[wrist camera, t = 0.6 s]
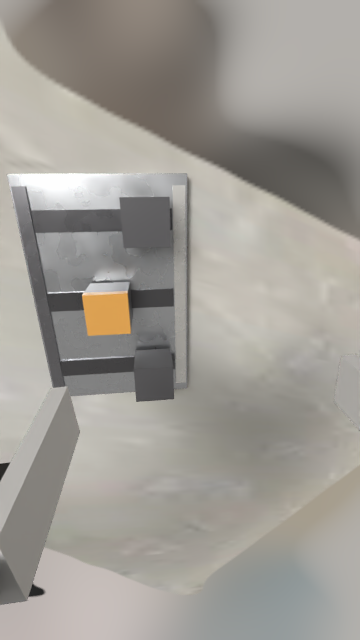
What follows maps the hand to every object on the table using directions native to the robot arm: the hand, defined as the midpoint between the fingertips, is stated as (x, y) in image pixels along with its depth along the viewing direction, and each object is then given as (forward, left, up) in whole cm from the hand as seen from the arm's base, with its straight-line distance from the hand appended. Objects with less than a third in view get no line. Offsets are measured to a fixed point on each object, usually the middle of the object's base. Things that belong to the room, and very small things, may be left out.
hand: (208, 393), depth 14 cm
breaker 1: (-3, +7, -18) cm, 19 cm away
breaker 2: (-3, -9, -18) cm, 20 cm away
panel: (-7, -1, -20) cm, 21 cm away
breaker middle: (-7, -1, -18) cm, 19 cm away
